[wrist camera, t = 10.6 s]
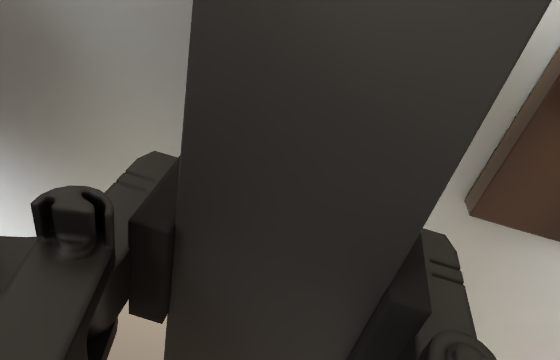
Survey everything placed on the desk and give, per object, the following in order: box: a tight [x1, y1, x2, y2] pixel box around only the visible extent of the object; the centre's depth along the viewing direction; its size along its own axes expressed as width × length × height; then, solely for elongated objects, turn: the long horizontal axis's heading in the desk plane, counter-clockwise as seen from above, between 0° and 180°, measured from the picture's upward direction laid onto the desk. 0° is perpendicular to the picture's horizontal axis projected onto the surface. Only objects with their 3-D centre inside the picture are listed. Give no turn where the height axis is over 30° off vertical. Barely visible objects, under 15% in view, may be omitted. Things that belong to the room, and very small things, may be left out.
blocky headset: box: [164, 0, 552, 360], centre depth 14 cm, size 6×17×14 cm, turn 168°
